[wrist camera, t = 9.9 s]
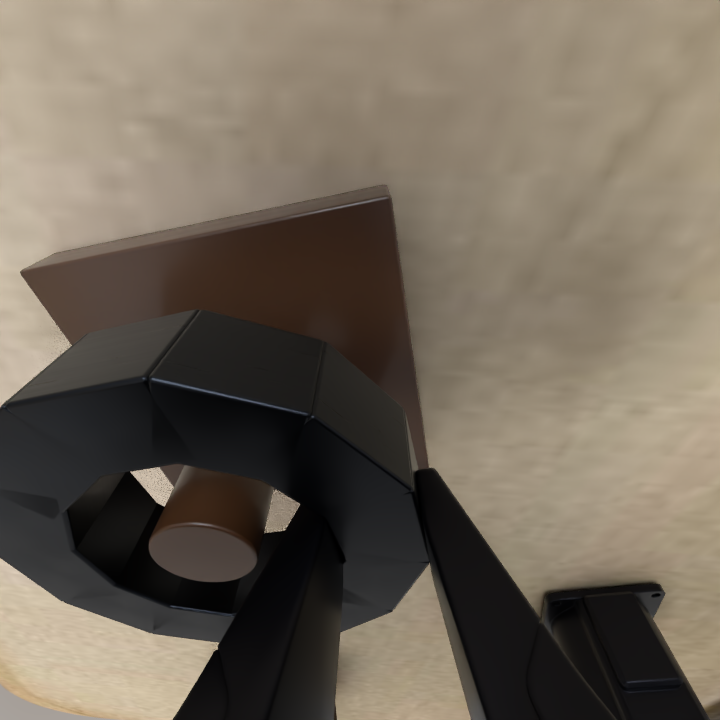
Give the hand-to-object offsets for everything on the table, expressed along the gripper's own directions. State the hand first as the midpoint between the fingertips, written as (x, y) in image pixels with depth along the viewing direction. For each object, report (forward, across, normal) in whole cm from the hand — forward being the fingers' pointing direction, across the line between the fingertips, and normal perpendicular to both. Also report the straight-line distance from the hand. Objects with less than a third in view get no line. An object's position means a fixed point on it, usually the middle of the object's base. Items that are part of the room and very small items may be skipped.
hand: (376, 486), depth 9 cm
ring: (+1, +4, 0) cm, 4 cm away
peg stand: (+6, +4, 0) cm, 7 cm away
